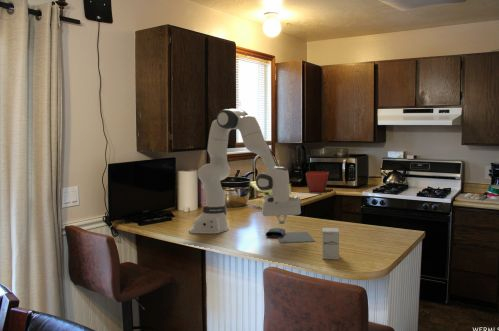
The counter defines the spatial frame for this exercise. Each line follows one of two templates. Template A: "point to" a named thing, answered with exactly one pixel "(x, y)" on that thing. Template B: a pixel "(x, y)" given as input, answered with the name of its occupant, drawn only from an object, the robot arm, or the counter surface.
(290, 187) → the slatted curved stool
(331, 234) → the supplement box
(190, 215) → the counter surface
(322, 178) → the plant pot
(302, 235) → the mat
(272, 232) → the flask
